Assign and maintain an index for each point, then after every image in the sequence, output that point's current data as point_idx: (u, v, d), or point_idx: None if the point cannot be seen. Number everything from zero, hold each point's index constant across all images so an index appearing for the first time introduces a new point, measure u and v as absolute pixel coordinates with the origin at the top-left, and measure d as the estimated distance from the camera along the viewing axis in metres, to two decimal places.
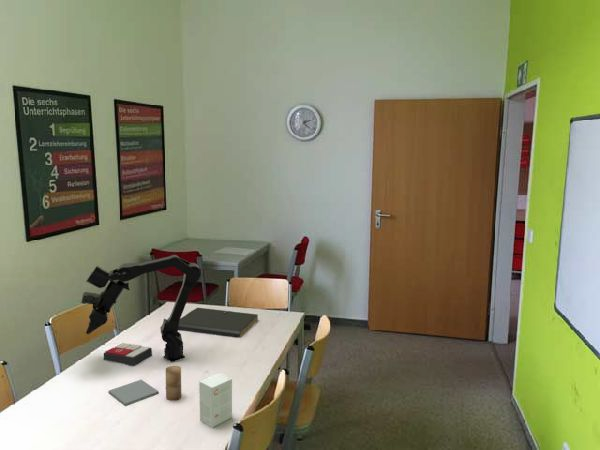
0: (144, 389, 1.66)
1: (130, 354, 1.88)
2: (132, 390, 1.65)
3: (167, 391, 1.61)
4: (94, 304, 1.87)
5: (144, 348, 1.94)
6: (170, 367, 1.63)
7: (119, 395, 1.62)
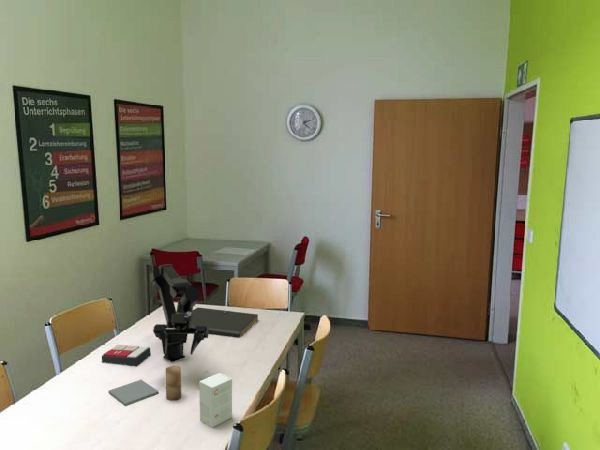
0: (144, 389, 1.66)
1: (131, 355, 1.87)
2: (132, 390, 1.65)
3: (167, 391, 1.61)
4: (162, 331, 1.70)
5: (143, 348, 1.94)
6: (170, 367, 1.63)
7: (119, 395, 1.62)
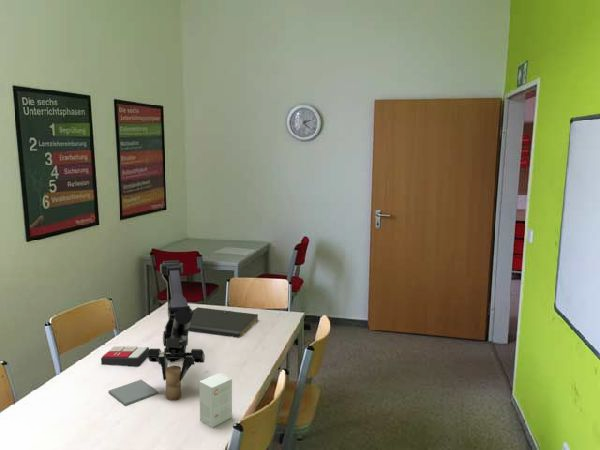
0: (144, 389, 1.66)
1: (132, 355, 1.87)
2: (132, 390, 1.65)
3: (167, 391, 1.61)
4: (156, 355, 1.63)
5: (142, 348, 1.93)
6: (170, 367, 1.63)
7: (119, 395, 1.62)
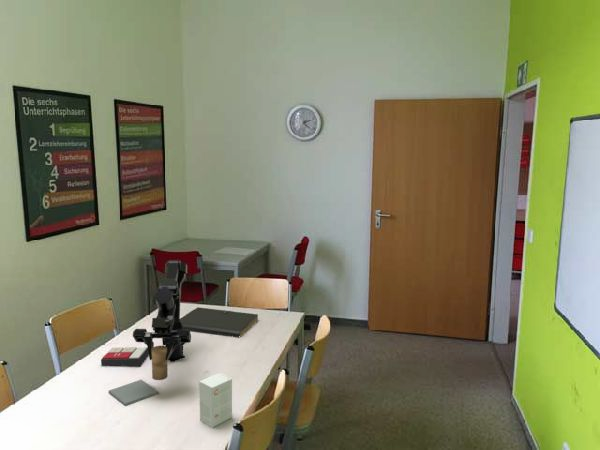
0: (144, 389, 1.66)
1: (133, 356, 1.86)
2: (132, 390, 1.65)
3: (153, 371, 1.61)
4: (142, 335, 1.63)
5: (142, 349, 1.93)
6: (156, 347, 1.62)
7: (119, 395, 1.62)
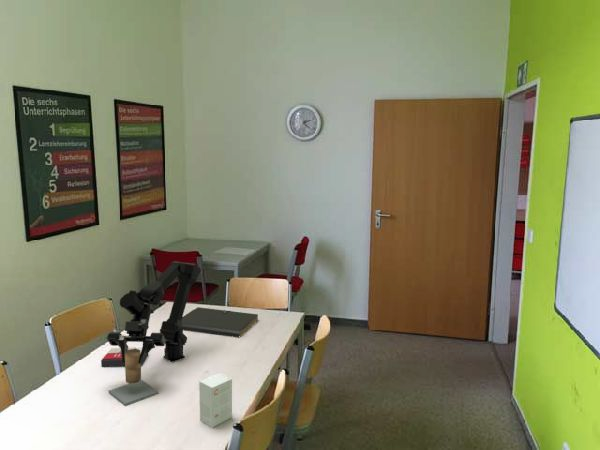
0: (144, 389, 1.66)
1: None
2: (132, 390, 1.65)
3: (126, 374, 1.62)
4: (115, 339, 1.64)
5: (141, 349, 1.93)
6: (129, 350, 1.64)
7: (119, 395, 1.62)
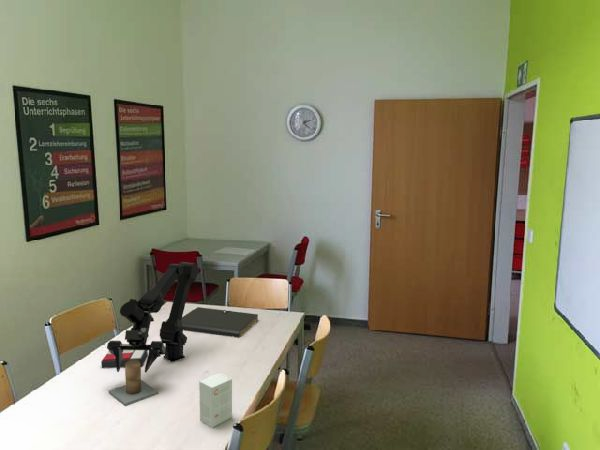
0: (144, 389, 1.66)
1: (134, 356, 1.86)
2: None
3: (126, 385, 1.63)
4: (115, 347, 1.65)
5: None
6: (130, 361, 1.64)
7: (119, 395, 1.62)
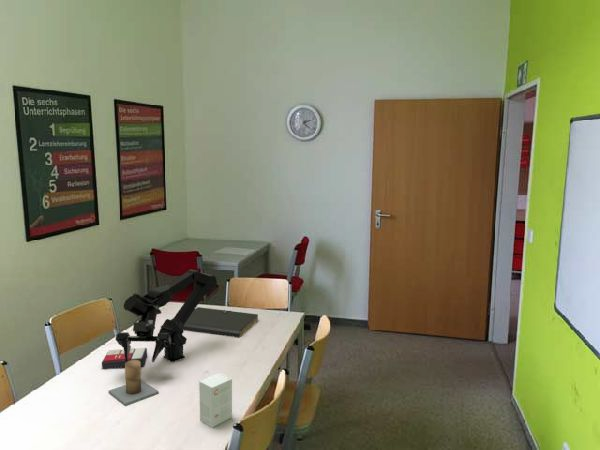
0: (144, 389, 1.66)
1: (135, 356, 1.86)
2: None
3: (126, 385, 1.63)
4: (124, 339, 1.73)
5: (141, 349, 1.92)
6: (130, 361, 1.64)
7: (119, 395, 1.62)
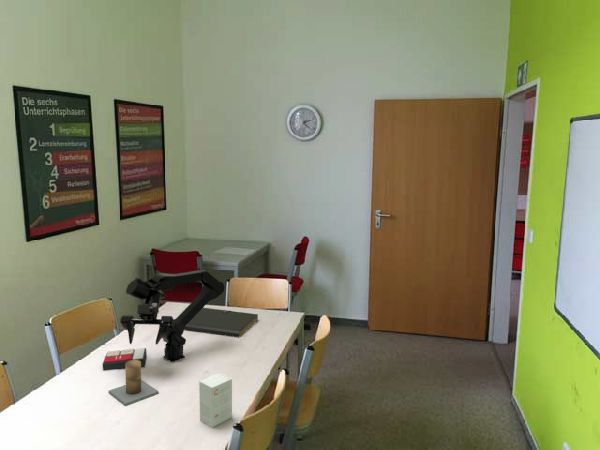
0: (144, 389, 1.66)
1: (136, 357, 1.85)
2: None
3: (126, 385, 1.63)
4: (128, 321, 1.75)
5: (141, 349, 1.92)
6: (130, 361, 1.64)
7: (119, 395, 1.62)
